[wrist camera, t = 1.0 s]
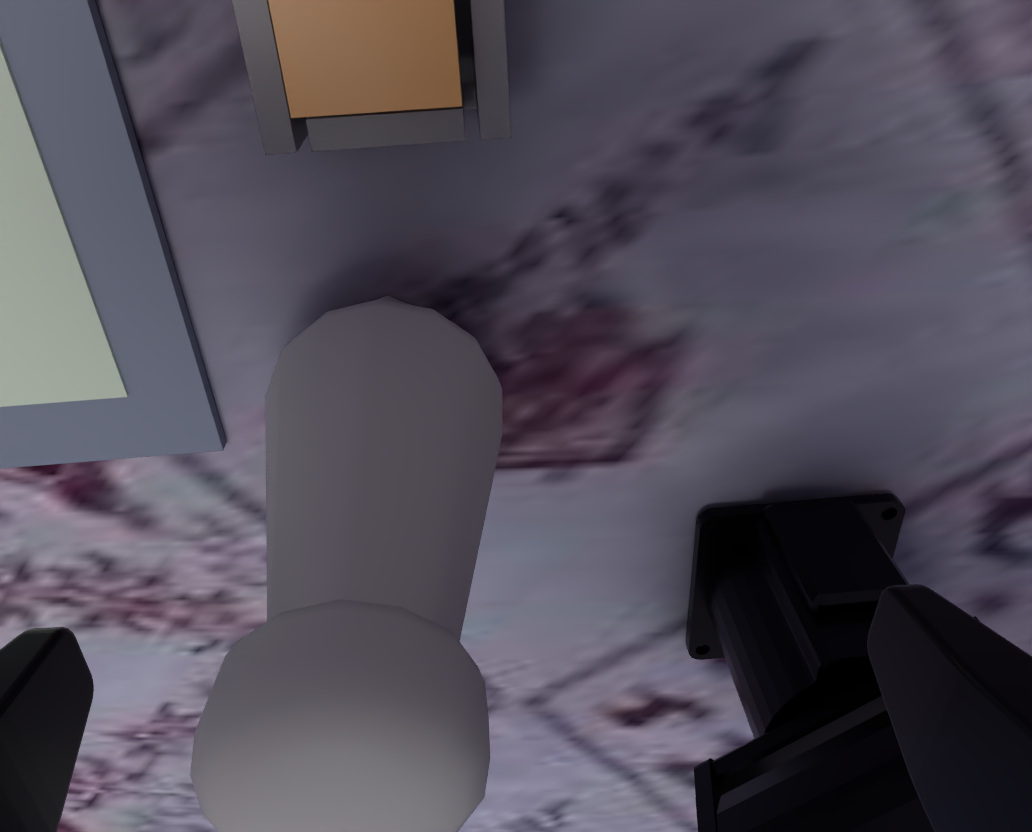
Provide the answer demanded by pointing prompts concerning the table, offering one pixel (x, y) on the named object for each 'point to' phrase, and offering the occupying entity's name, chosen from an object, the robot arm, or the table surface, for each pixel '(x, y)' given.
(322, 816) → the salt shaker
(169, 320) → the grey flat square slab
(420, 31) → the push button
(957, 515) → the table surface
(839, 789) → the robot arm
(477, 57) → the button housing
